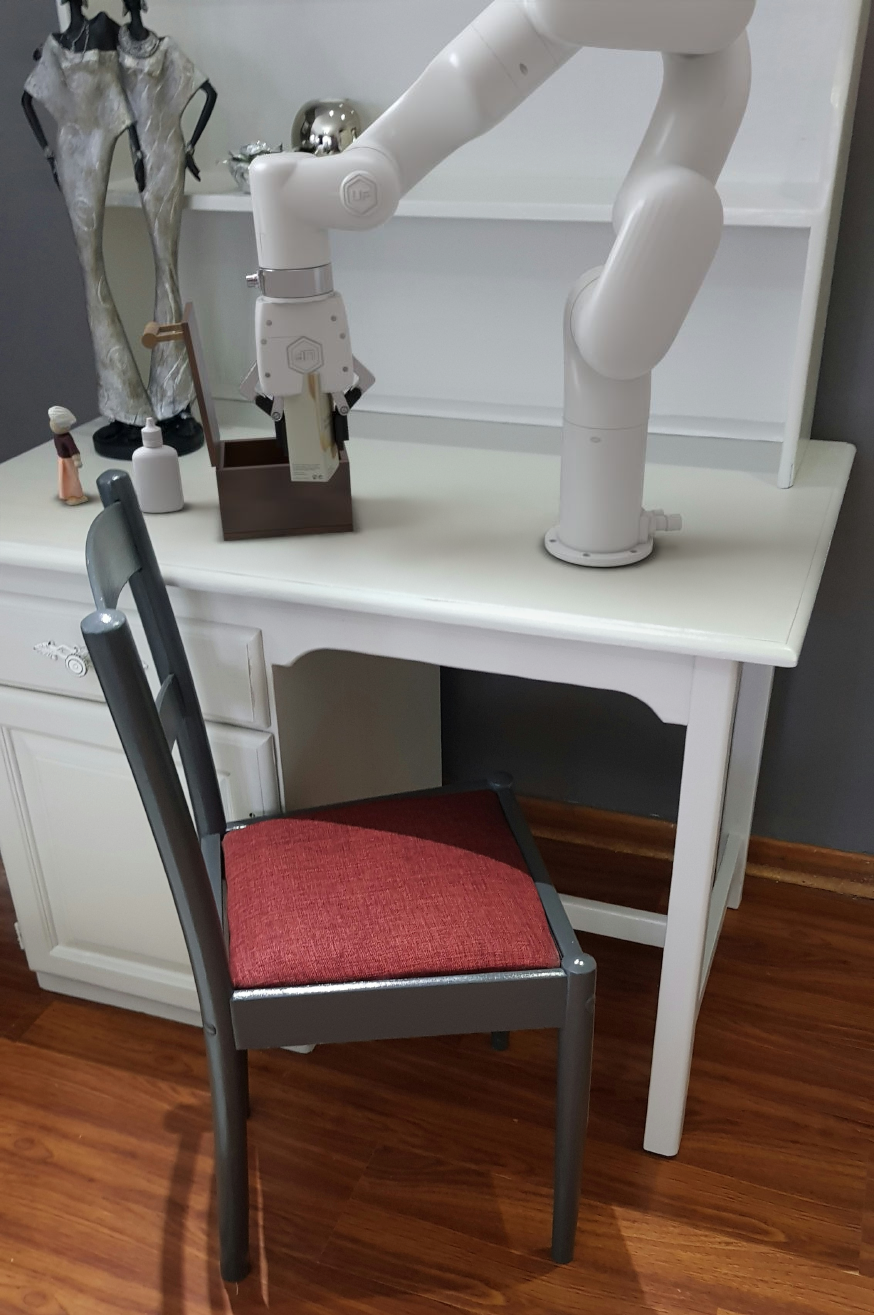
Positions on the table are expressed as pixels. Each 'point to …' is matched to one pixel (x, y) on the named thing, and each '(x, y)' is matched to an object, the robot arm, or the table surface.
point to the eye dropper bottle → (157, 473)
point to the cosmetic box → (311, 432)
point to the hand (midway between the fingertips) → (313, 448)
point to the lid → (197, 371)
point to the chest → (277, 493)
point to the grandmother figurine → (66, 456)
